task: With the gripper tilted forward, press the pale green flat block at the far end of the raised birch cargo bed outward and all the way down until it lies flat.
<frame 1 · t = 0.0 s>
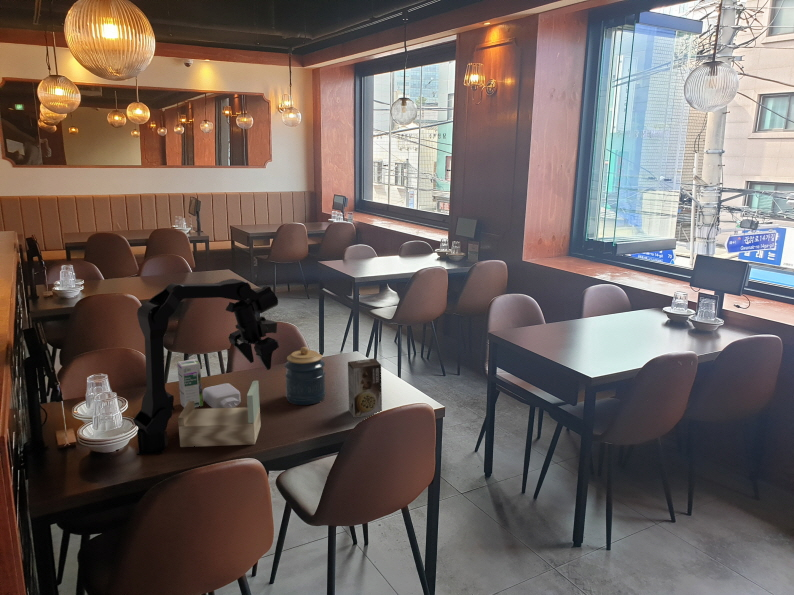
hand: (260, 365, 186), 15 cm above the table, tool pointing down, fingers open, 9 cm apart
cargo bed: (222, 436, 173), on the table
pale green flat block: (253, 401, 172), point 10 cm above the table, hinge at 0.0°
syrup box: (191, 405, 195), on the table
charger: (225, 406, 195), on the table
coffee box: (365, 412, 190), on the table
canister: (305, 398, 201), on the table
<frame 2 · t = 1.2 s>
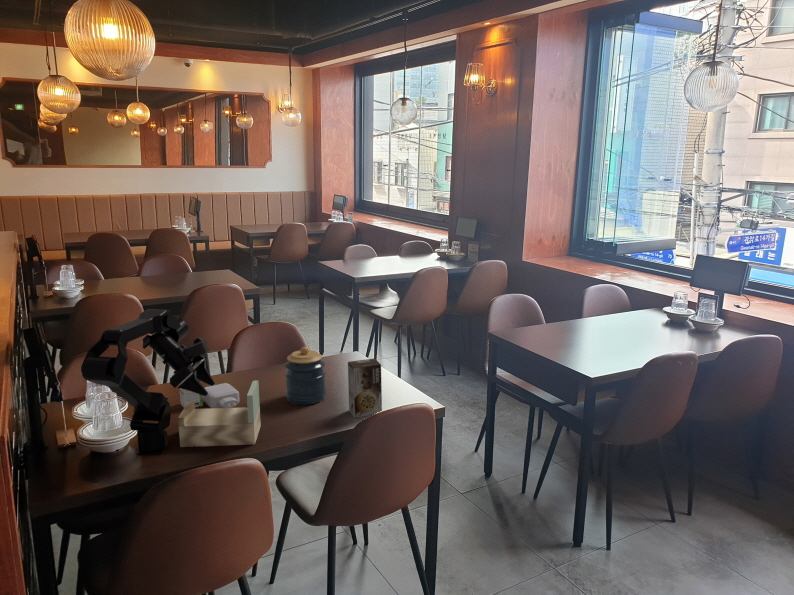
hand: (210, 389, 171), 14 cm above the table, tool tilted 40°, fingers open, 9 cm apart
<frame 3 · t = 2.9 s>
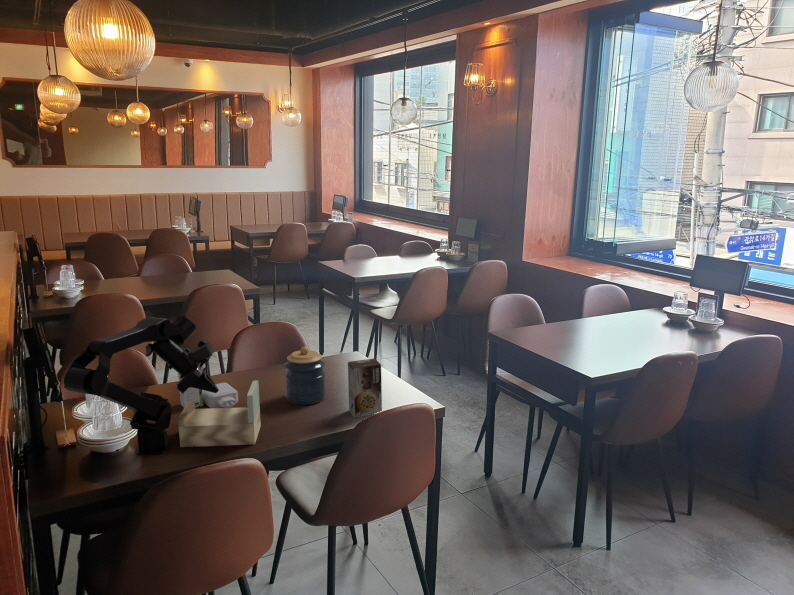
hand: (217, 391, 171), 13 cm above the table, tool tilted 45°, fingers closed
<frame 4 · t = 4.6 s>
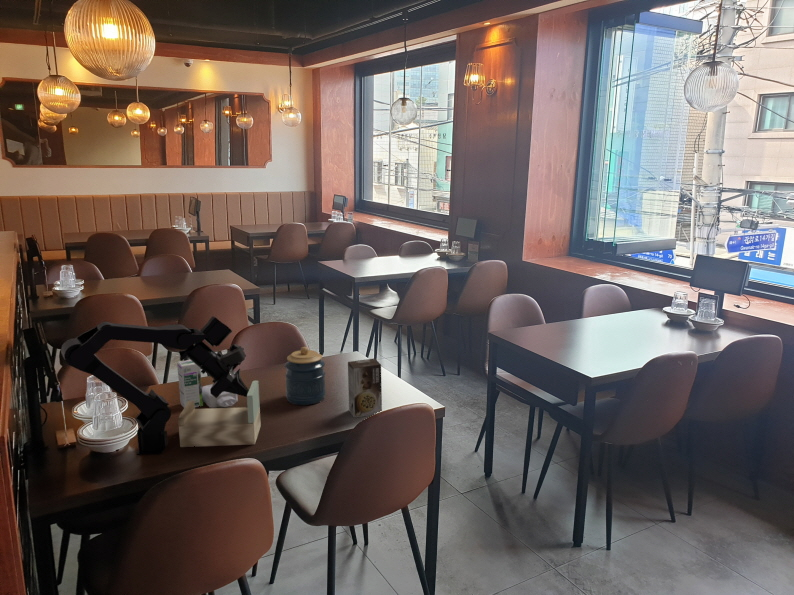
hand: (249, 395, 172), 12 cm above the table, tool tilted 45°, fingers closed, pressing on pale green flat block
pale green flat block: (253, 401, 172), point 10 cm above the table, hinge at 0.0°, touching gripper
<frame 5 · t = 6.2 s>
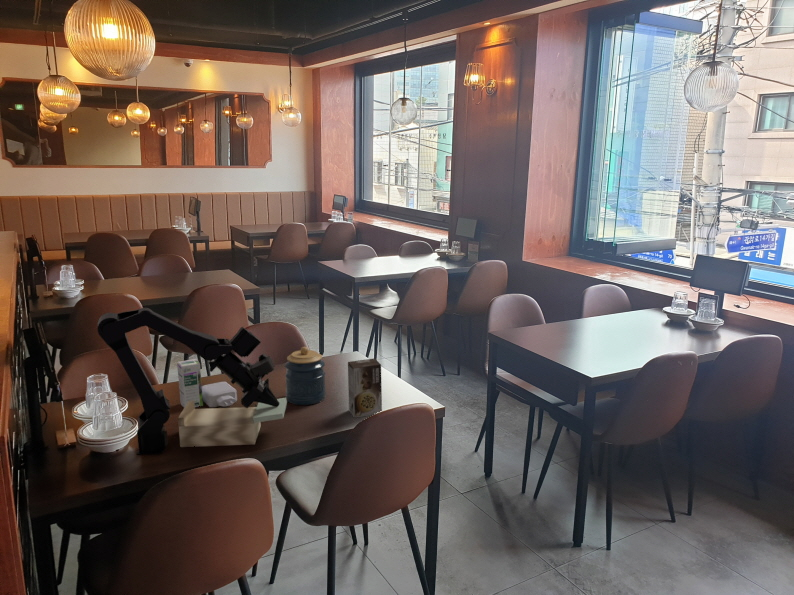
hand: (278, 405, 173), 9 cm above the table, tool tilted 45°, fingers closed, pressing on pale green flat block
pale green flat block: (270, 409, 173), point 7 cm above the table, hinge at 82.5°, touching gripper
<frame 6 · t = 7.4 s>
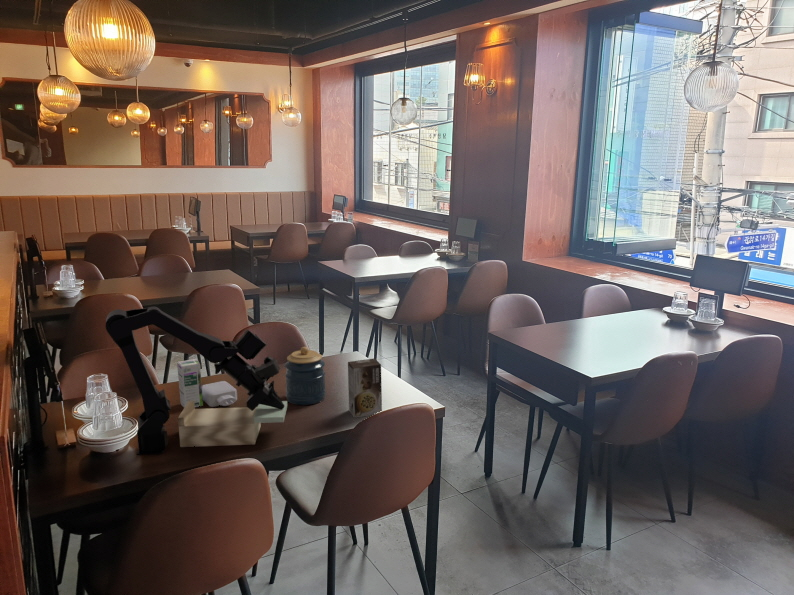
hand: (283, 407, 173), 8 cm above the table, tool tilted 45°, fingers closed, pressing on pale green flat block
pale green flat block: (271, 411, 173), point 7 cm above the table, hinge at 90.6°, touching gripper
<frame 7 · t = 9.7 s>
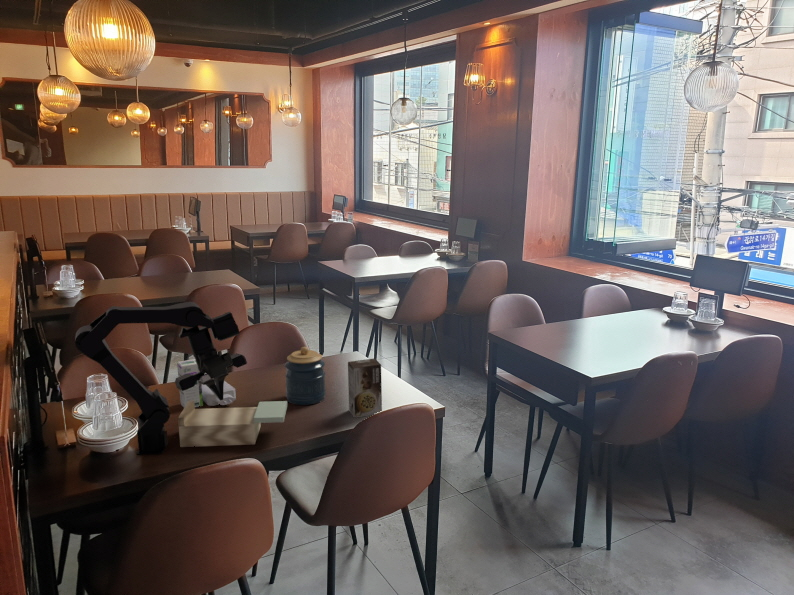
hand: (221, 399, 169), 12 cm above the table, tool tilted 15°, fingers closed
pale green flat block: (271, 411, 173), point 7 cm above the table, hinge at 90.6°
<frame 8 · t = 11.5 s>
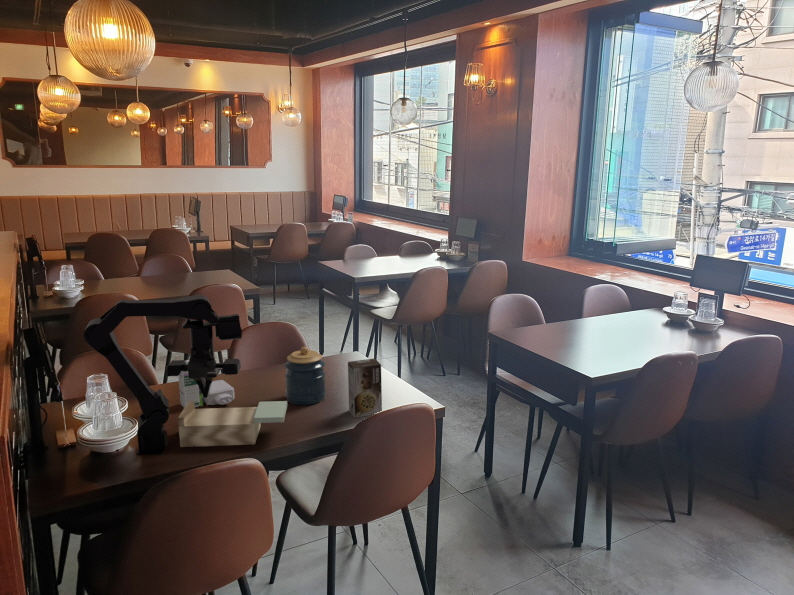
hand: (206, 397, 167), 13 cm above the table, tool pointing down, fingers closed
at the end: pale green flat block at +91° (first picture: +0°) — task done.
